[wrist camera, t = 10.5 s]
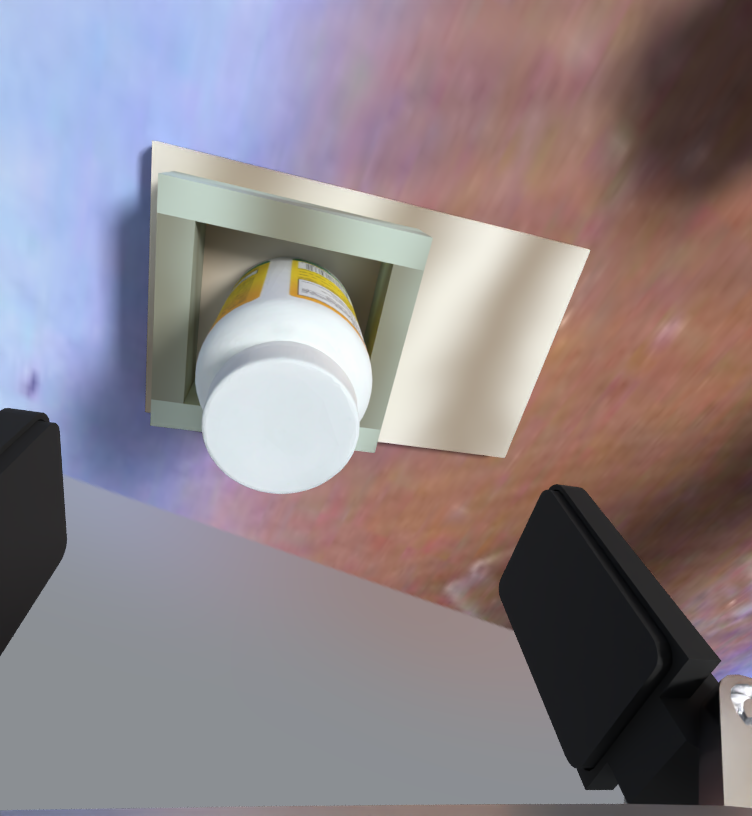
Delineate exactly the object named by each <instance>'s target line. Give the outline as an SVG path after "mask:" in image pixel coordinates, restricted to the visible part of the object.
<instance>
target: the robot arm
mask: <svg viewBox="0 0 752 816" xmlns="http://www.w3.org/2000/svg"><path fill="white" fill-rule="evenodd" d="M65 520H66V519H65V504H64V489H63V474H62V459H61V444H60V431H59V427H58V425H57V424H56V423H52V422H49V418H48V416H47V415H46V414H44V413H40V412H33V411H26V410H19V409H11V408H4V409H3V410H1V411H0V656H1V654H2V652H3V651H4V649H5V648H6V646H7V645H8V643H9V641H10V640H11V638H12V637H13V635H14V634H15V632H16V630H17V629H18V627H19V626H20V624H21V623H22V621H23V620H24V618H25V616H26V615H27V613H28V612H29V610H30V609H31V607H32V605H33V604H34V602H35V600H36V599H37V598H38V596H39V594H40V593H41V591H42V590H43V588H44V587H45V585H46V583H47V582H48V580H49V579H50V577H51V576H52V574H53V572H54V571H55V569H56V567H57V566H58V565H59V563H60V561H61V560H62V557H63V555H64V552H65V549H66V544H67V534H66V521H65ZM499 595H500V598H501V601H502V603H503V606H504V608H505V611H506V613H507V615H508V618H509V620H510V623H511V625H512V628H513V630H514V632H515V635H516V637H517V640H518V642H519V644H520V647H521V649H522V652H523V654H524V657H525V659H526V662H527V664H528V666H529V669H530V671H531V674H532V676H533V678H534V681H535V683H536V685H537V688H538V691H539V693H540V696H541V698H542V700H543V703H544V705H545V707H546V710H547V713H548V715H549V717H550V720H551V722H552V725H553V727H554V730H555V732H556V734H557V737H558V739H559V742H560V744H561V746H562V749H563V751H564V754H565V756H566V758H567V760H568V762H569V763H570V764H571V766H573V767H574V768H577V771H578V773H579V776H580V778H581V780H582V783H583V785H584V787H585V789H586V790H613V789H614V788H615V787H616V786H617V785H618V784H619V786H620V788H621V791H622V793H623V795H624V797H625V798H624V804H496V805H495V804H491V805H490V804H485V805H484V804H482V805H481V804H479V805H477V804H476V805H362V806H361V805H360V806H267V807H265V806H262V807H260V806H258V807H189V808H188V807H187V808H127V809H126V808H121V809H55V810H54V809H51V810H2V811H0V816H752V678H749V677H746V676H742V675H727V676H726V677H724V678H723V679H722V680H721V681H720V682H719V683H718V682H717V680H716V679H715V678H714V676H713V675H712V674H711V672H712V671H713V670H714V669H715V668H716V666H717V665H718V664H719V663H720V662H721V660H720V659H719V657H718V656H717V655H716V654H715V652H714V651H713V650H712V649H711V647H710V646H709V645H708V644H707V642H706V641H705V640H704V639H703V637H702V636H701V635H700V634H699V632H698V631H697V630H696V629H695V627H694V626H693V625H692V624H691V622H690V621H689V620H688V619H687V617H686V616H685V615H684V614H683V612H682V611H681V610H680V609H679V607H678V606H677V605H676V604H675V602H674V601H673V600H672V599H671V597H670V596H669V595H668V594H667V592H666V591H665V590H664V589H663V587H662V586H661V585H660V584H659V582H658V581H657V580H656V579H655V577H654V576H653V575H652V574H651V572H650V571H649V570H648V569H647V567H646V566H645V565H644V564H643V562H642V561H641V560H640V559H639V557H638V556H637V555H636V554H635V552H634V551H633V550H632V549H631V547H630V546H629V545H628V544H627V542H626V541H625V540H624V539H623V537H622V536H621V535H620V533H619V532H618V531H617V530H616V528H615V527H614V526H613V525H612V523H611V522H610V521H609V520H608V518H607V517H606V516H605V515H604V513H603V512H602V511H601V510H600V508H599V507H598V506H597V505H596V503H595V502H594V501H593V500H592V498H591V497H590V496H589V495H588V493H587V492H586V491H585V490H584V489H583V488H579V487H572V486H565V485H558V484H556V485H553V486H551V487H550V488H549V490H545V491H543V492H542V494H541V495H540V497H539V499H538V501H537V504H536V506H535V508H534V510H533V512H532V514H531V516H530V518H529V520H528V523H527V525H526V527H525V529H524V531H523V533H522V535H521V537H520V539H519V541H518V544H517V546H516V548H515V550H514V552H513V554H512V556H511V558H510V560H509V563H508V565H507V567H506V569H505V571H504V573H503V575H502V577H501V580H500V583H499Z"/></svg>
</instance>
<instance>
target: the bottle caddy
mask: <svg viewBox="0 0 752 816" xmlns="http://www.w3.org/2000/svg"><path fill="white" fill-rule="evenodd" d="M589 252H590V250H589V249H585V248H582V247H579V246H575V245H571V244H567V243H563V242H559V241H555V240H551V239H547V238H543V237H539V236H535V235H531V234H527V233H523V232H519V231H515V230H511V229H507V228H503V227H499V226H495V225H491V224H487V223H483V222H479V221H475V220H471V219H467V218H463V217H459V216H455V215H451V214H447V213H443V212H439V211H435V210H431V209H427V208H423V207H419V206H415V205H411V204H407V203H403V202H399V201H395V200H391V199H387V198H383V197H379V196H375V195H371V194H367V193H363V192H359V191H355V190H351V189H347V188H343V187H339V186H335V185H331V184H327V183H323V182H319V181H315V180H311V179H307V178H303V177H299V176H295V175H291V174H287V173H283V172H279V171H275V170H271V169H267V168H263V167H259V166H255V165H251V164H247V163H243V162H239V161H235V160H231V159H227V158H223V157H219V156H215V155H211V154H207V153H203V152H199V151H195V150H191V149H187V148H183V147H179V146H175V145H171V144H167V143H163V142H159V141H152V166H151V205H150V244H149V283H148V323H147V362H146V401H145V412H148V413H151V421H150V426H158V427H166V428H174V429H183V430H191V431H199V432H202V413H203V410H202V408H201V405H200V403H199V399H198V395H197V391H196V384H195V371H196V364H197V359H198V356H199V352H200V350H201V347H202V344H203V342H204V341H205V339H206V337H207V335H208V333H209V331H210V329H211V327H212V326H213V324H214V322H215V320H216V318H217V317H218V315H219V313H220V311H221V309H222V307H223V305H224V304H225V301H226V300H227V298H228V296H229V295H230V293H231V291H232V289H233V287H234V286H235V284H236V283H237V281H238V280H239V279H240V278H241V277H242V276H243V275H244V274H245V273H246V272H247V271H248V270H249V269H251V268H252V267H254V266H255V265H257V264H259V263H261V262H263V261H266V260H269V259H272V258H277V257H299V258H303V259H307V260H310V261H313V262H315V263H317V264H319V265H321V266H323V267H324V268H326V269H327V270H328V271H330V272H331V273H332V274H333V275H334V276H335V277H336V278H337V279H338V280H339V281H340V282H341V284H342V285H343V286H344V288H345V290H346V292H347V293H348V295H349V298H350V300H351V303H352V306H353V309H354V312H355V315H356V318H357V321H358V324H359V327H360V330H361V333H362V336H363V339H364V343H365V345H366V348H367V352H368V355H369V359H370V363H371V369H372V391H371V396H370V400H369V404H368V407H367V409H366V411H365V414H364V416H363V418H362V419H361V421H360V426H359V437H358V441H357V444H356V447H355V450H356V451H364V452H372V453H375V449H376V446H377V442H384V443H392V444H400V445H408V446H415V447H423V448H431V449H439V450H447V451H455V452H463V453H471V454H478V455H486V456H494V457H502V458H505V456H506V453H507V451H508V449H509V446H510V444H511V441H512V439H513V436H514V434H515V432H516V429H517V427H518V424H519V422H520V419H521V417H522V415H523V412H524V410H525V407H526V405H527V402H528V400H529V398H530V395H531V393H532V390H533V388H534V385H535V383H536V381H537V378H538V376H539V373H540V371H541V369H542V366H543V364H544V361H545V359H546V356H547V354H548V352H549V349H550V347H551V344H552V342H553V339H554V337H555V335H556V332H557V330H558V327H559V325H560V322H561V320H562V318H563V315H564V313H565V310H566V308H567V306H568V303H569V301H570V298H571V296H572V293H573V291H574V289H575V286H576V284H577V281H578V279H579V276H580V274H581V272H582V269H583V267H584V264H585V262H586V259H587V257H588V255H589Z"/></svg>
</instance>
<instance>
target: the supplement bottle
mask: <svg viewBox="0 0 752 816" xmlns="http://www.w3.org/2000/svg"><path fill="white" fill-rule="evenodd" d="M195 384H196V391H197V395H198V399H199V403H200V405H201V408H202V410H203V413H202V435H203V440H204V443H205V446H206V448H207V450H208V453H209V455H210V457H211V458H212V459H213V461H214V462H215V463H216V465H217V466H218V467H219V468H220V469H221V470H222V471H223V472H224V473H225V474H226V475H227V476H228V477H230V478H231V479H233V480H234V481H236V482H238V483H240V484H242V485H244V486H246V487H248V488H251V489H254V490H257V491H261V492H267V493H275V494H287V493H296V492H301V491H305V490H308V489H311V488H314V487H317V486H319V485H321V484H323V483H324V482H326V481H328V480H329V479H331V478H332V477H333V476H334V475H336V474H337V473H338V472H339V471H340V470H341V469H342V468H343V467H344V466H345V465H346V464H347V462H348V461H349V459H350V458H351V456H352V454H353V452H354V450H355V447H356V444H357V441H358V437H359V426H360V421H361V419H362V418H363V416H364V414H365V411H366V409H367V407H368V404H369V400H370V396H371V391H372V369H371V363H370V359H369V355H368V352H367V348H366V345H365V343H364V339H363V336H362V333H361V330H360V327H359V324H358V321H357V318H356V315H355V312H354V309H353V306H352V303H351V300H350V298H349V295H348V293H347V292H346V290H345V288H344V286H343V285H342V284H341V282H340V281H339V280H338V279H337V278H336V277H335V276H334V275H333V274H332V273H331V272H330V271H328V270H327V269H326V268H324V267H323V266H321V265H319V264H317V263H315V262H313V261H310V260H307V259H303V258H299V257H277V258H272V259H269V260H266V261H263V262H261V263H259V264H257V265H255V266H254V267H252V268H251V269H249V270H248V271H247V272H246V273H245V274H244V275H243V276H242V277H241V278H240V279H239V280H238V281H237V283H236V284H235V286H234V287H233V289H232V291H231V293H230V295H229V296H228V298H227V300H226V301H225V304H224V305H223V307H222V309H221V311H220V313H219V315H218V317H217V318H216V320H215V322H214V324H213V326H212V327H211V329H210V331H209V333H208V335H207V337H206V339H205V341H204V342H203V344H202V347H201V350H200V352H199V356H198V359H197V364H196V371H195Z"/></svg>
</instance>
